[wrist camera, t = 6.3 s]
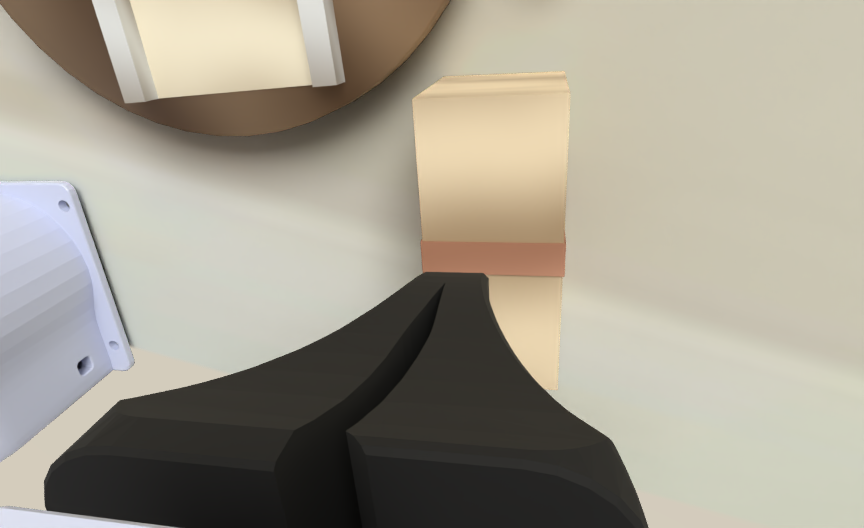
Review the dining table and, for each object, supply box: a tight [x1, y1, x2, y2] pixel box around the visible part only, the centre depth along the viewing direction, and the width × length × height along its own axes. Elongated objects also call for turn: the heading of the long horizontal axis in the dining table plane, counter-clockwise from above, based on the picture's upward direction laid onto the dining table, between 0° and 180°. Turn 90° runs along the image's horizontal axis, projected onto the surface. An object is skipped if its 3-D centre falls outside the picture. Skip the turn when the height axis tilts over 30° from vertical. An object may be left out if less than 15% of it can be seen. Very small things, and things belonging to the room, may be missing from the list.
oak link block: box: [412, 71, 570, 390], centre depth 18 cm, size 9×4×5 cm, turn 4°
